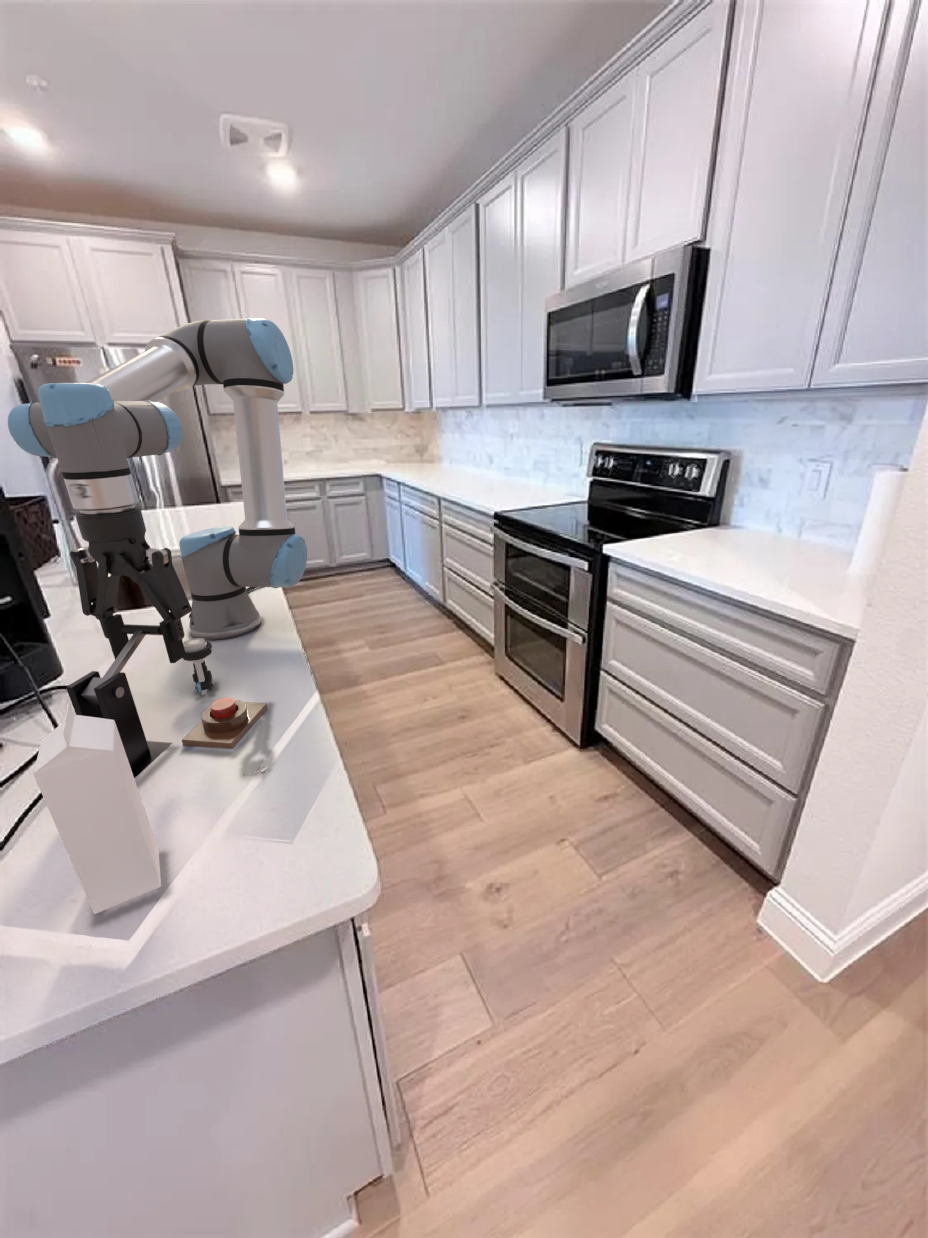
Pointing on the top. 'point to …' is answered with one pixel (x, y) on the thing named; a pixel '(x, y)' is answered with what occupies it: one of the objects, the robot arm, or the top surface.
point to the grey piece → (199, 662)
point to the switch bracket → (118, 717)
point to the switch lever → (121, 656)
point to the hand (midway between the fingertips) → (151, 657)
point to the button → (223, 708)
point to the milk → (98, 810)
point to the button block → (225, 726)
